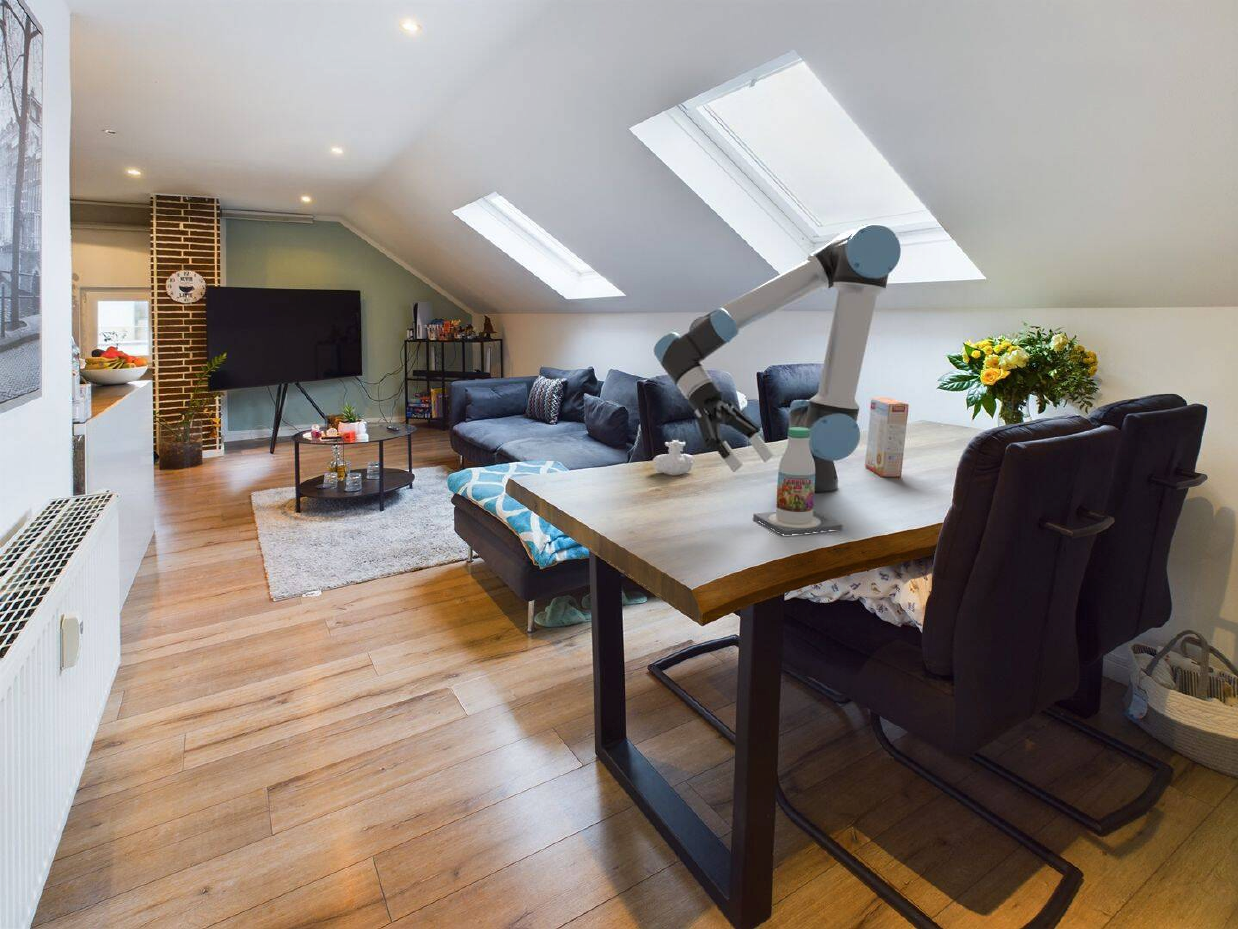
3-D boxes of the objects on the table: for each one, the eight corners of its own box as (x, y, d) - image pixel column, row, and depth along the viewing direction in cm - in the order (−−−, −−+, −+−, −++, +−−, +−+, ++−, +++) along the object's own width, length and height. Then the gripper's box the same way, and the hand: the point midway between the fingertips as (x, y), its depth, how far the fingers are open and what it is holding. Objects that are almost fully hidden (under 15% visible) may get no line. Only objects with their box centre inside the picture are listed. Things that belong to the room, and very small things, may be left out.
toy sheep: (653, 482, 193) (656, 456, 184) (650, 461, 198) (654, 436, 189) (694, 481, 194) (700, 456, 185) (691, 461, 199) (696, 435, 190)
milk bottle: (771, 514, 150) (775, 425, 146) (804, 513, 151) (810, 425, 146) (782, 525, 143) (787, 432, 138) (817, 524, 143) (824, 431, 139)
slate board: (807, 513, 156) (807, 507, 156) (842, 530, 144) (842, 524, 144) (753, 518, 152) (753, 513, 151) (784, 536, 140) (785, 530, 139)
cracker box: (902, 477, 190) (910, 403, 185) (881, 477, 190) (887, 403, 185) (884, 466, 204) (890, 397, 199) (864, 466, 204) (870, 397, 199)
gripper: (719, 396, 169) (770, 464, 163) (658, 406, 151) (712, 483, 144) (739, 376, 164) (791, 445, 158) (678, 384, 146) (735, 462, 140)
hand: (754, 463), depth 151 cm, fingers open, 13 cm apart
